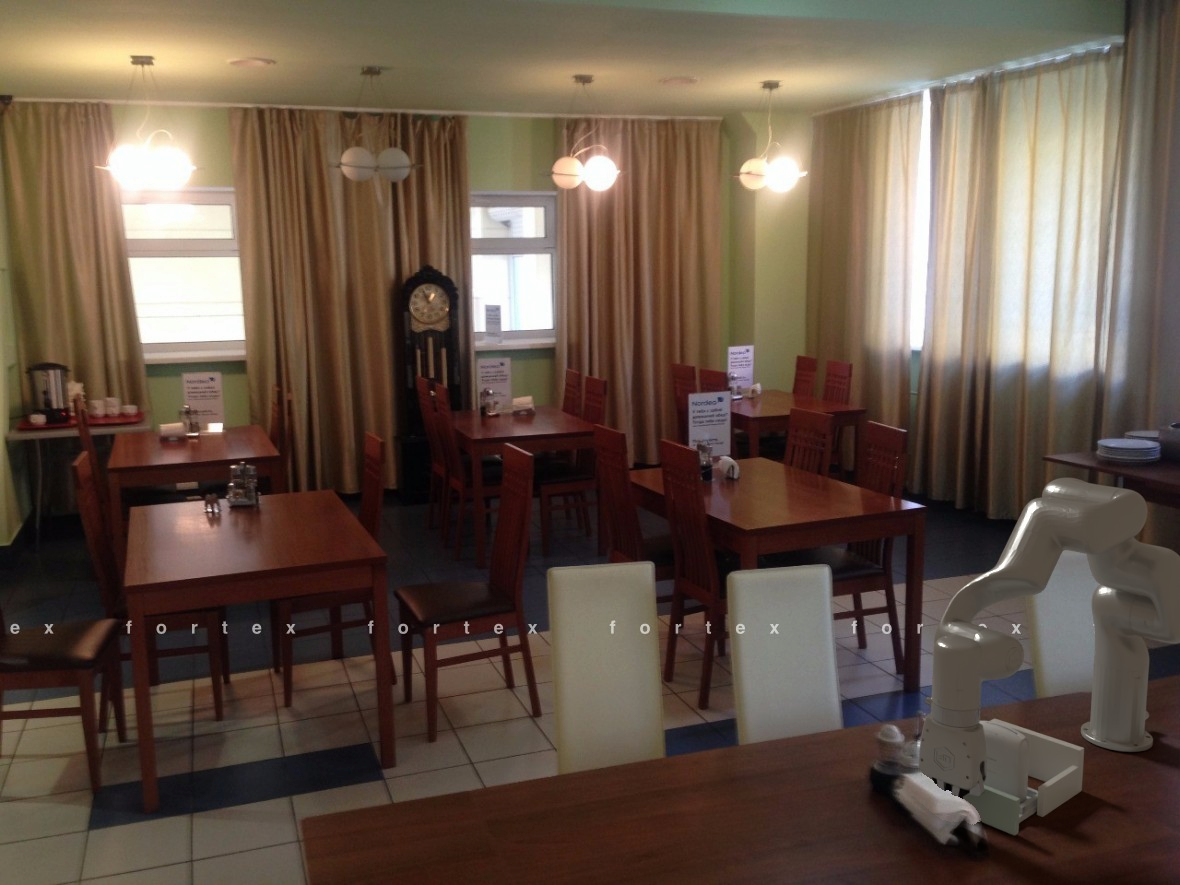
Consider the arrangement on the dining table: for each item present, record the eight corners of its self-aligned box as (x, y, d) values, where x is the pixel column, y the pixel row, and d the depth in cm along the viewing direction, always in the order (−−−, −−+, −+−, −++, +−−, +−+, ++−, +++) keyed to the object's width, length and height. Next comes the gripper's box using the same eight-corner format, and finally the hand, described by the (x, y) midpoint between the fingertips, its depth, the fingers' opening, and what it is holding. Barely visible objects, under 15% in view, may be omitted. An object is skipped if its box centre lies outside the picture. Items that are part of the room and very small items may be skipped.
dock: (992, 758, 194) (994, 718, 193) (1081, 790, 181) (1084, 747, 180) (952, 781, 185) (953, 739, 184) (1042, 817, 173) (1045, 772, 171)
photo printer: (962, 785, 181) (965, 719, 180) (975, 777, 184) (978, 712, 182) (1018, 807, 174) (1021, 738, 172) (1031, 799, 176) (1034, 731, 174)
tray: (962, 773, 188) (964, 742, 187) (1055, 808, 175) (1056, 775, 174) (920, 797, 180) (922, 764, 179) (1014, 836, 166) (1016, 800, 165)
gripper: (902, 705, 171) (898, 808, 173) (985, 734, 159) (981, 844, 162) (927, 693, 175) (924, 794, 178) (1010, 720, 164) (1005, 828, 166)
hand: (951, 817), depth 170 cm, fingers closed
